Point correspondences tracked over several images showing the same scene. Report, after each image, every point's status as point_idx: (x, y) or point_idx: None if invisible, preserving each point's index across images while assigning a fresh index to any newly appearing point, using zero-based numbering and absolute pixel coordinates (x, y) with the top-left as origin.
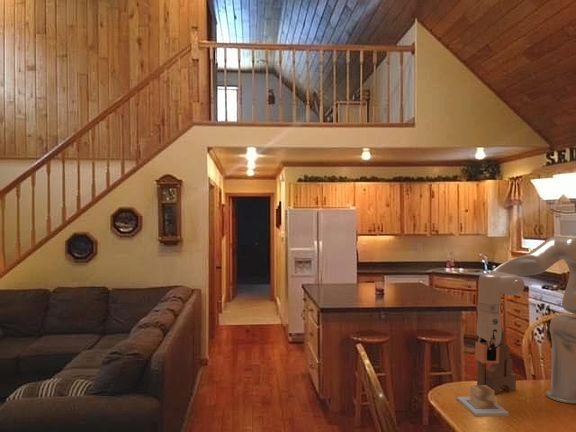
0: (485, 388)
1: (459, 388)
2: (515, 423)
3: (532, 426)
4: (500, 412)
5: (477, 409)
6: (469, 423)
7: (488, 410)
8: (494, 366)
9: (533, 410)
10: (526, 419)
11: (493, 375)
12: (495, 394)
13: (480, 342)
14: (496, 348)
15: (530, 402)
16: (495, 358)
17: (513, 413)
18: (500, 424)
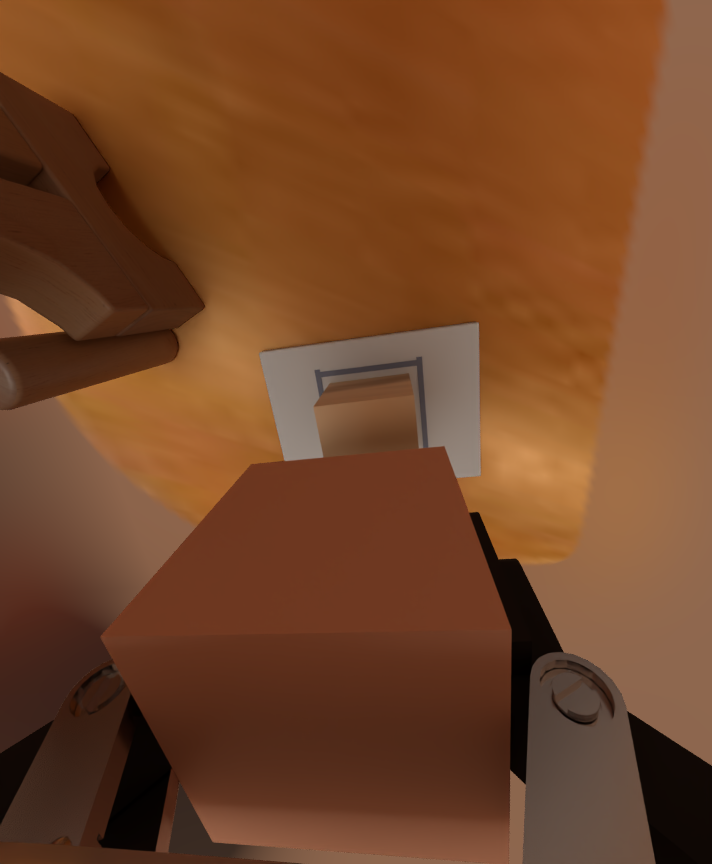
0: (376, 433)
1: (152, 432)
2: (567, 325)
3: (615, 247)
4: (471, 364)
5: None
6: (545, 513)
7: (445, 411)
8: (32, 277)
9: (396, 134)
10: (523, 242)
11: (129, 301)
12: (188, 282)
13: (207, 797)
14: (616, 707)
15: (266, 94)
16: (484, 532)
17: (443, 283)
18: (569, 400)
